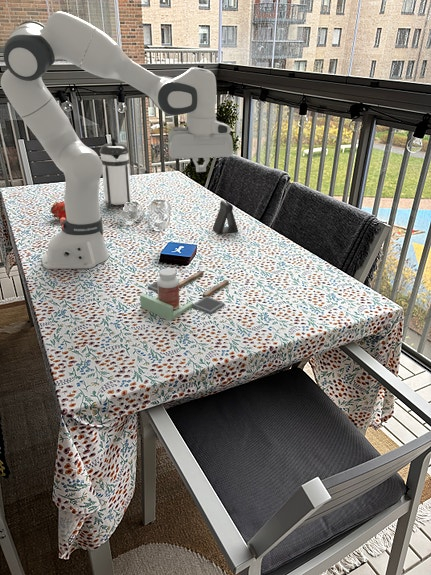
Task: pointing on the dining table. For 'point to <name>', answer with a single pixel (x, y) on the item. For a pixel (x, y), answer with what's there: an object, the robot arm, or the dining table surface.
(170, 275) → the pill bottle
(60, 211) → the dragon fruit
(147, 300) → the light green u-shaped piece
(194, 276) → the walnut track
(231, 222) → the phone stand
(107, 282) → the dining table surface
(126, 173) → the coffee press
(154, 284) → the trap pits
